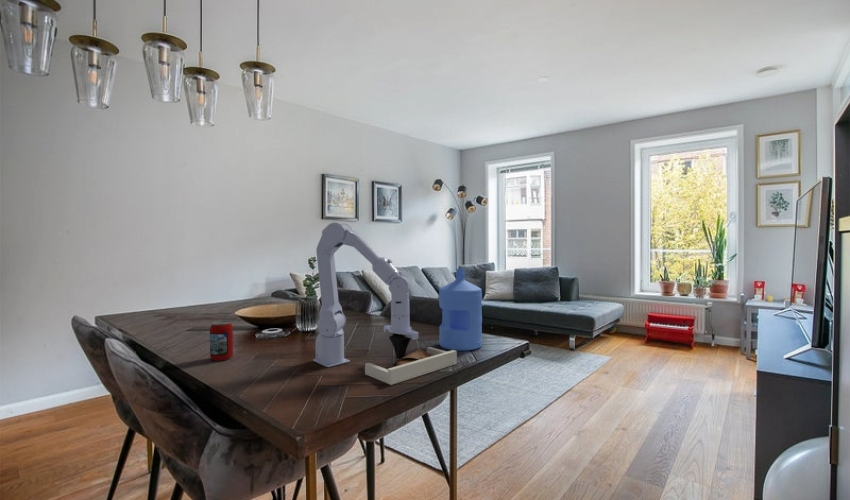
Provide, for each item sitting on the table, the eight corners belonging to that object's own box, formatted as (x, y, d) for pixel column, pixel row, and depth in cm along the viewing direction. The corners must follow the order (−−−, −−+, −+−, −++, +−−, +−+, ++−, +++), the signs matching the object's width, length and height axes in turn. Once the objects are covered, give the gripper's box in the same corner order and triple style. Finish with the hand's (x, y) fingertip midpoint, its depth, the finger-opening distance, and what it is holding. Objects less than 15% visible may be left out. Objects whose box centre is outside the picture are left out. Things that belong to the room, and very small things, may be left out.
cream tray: (365, 374, 115) (365, 360, 115) (429, 355, 133) (429, 343, 133) (391, 384, 106) (391, 370, 106) (456, 363, 124) (456, 351, 124)
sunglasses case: (418, 376, 113) (407, 355, 114) (399, 386, 115) (389, 365, 117) (441, 359, 129) (431, 340, 131) (424, 368, 132) (414, 349, 133)
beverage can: (205, 361, 129) (204, 324, 128) (220, 355, 135) (220, 319, 135) (223, 362, 127) (222, 324, 127) (237, 356, 134) (237, 320, 133)
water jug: (460, 338, 157) (460, 266, 156) (491, 346, 145) (491, 269, 144) (430, 345, 147) (429, 268, 146) (460, 354, 135) (460, 271, 134)
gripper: (425, 316, 121) (426, 360, 121) (395, 310, 131) (395, 351, 132) (408, 319, 116) (408, 365, 116) (378, 313, 127) (378, 355, 127)
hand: (400, 358), depth 124 cm, fingers closed
